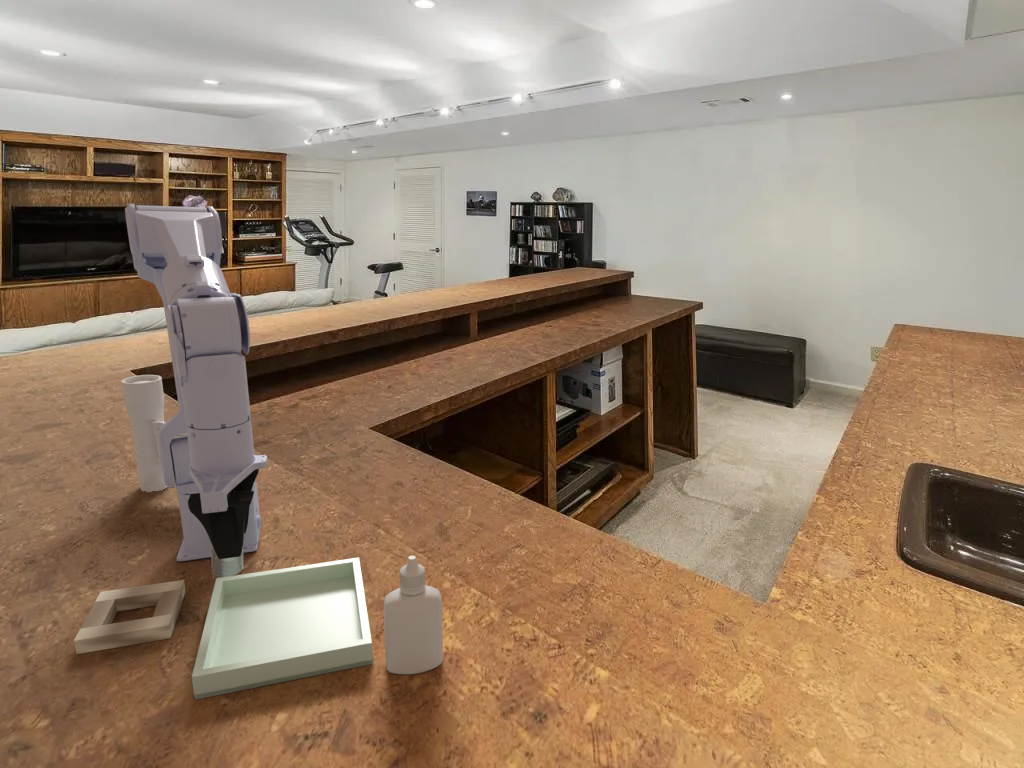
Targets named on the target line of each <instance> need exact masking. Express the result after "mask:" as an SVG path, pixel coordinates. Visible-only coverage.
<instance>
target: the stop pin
mask: <svg viewBox="0 0 1024 768" xmlns="http://www.w3.org/2000/svg"><path fill="white" fill-rule="evenodd" d="M232 490H235V493H238V492H247V491H249V490H248V489H246V488H244V487H241V486H236V487H234V488H233V489H232ZM210 558H211V559H210V560H211V573H212V574H213V575H214V576H215V577H218V578H222V577H229V576H236V575H237V574H238V575H239V573H240V572H242V570H244V553H243V548H242V553H241V556H240V557H233V558H226V559H218V557H217V555H216V553H215V551H214V548H213V546H212V544H211V557H210Z"/></svg>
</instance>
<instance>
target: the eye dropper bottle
mask: <svg viewBox="0 0 1024 768" xmlns="http://www.w3.org/2000/svg"><path fill="white" fill-rule="evenodd" d="M417 560H418V559H417V557H416V555H408V558H407V563H406V564H405V565H403V566H402V567H401V568H400V569H399V587H397V588H395V589H394V590H393V591H390V592H388V594H386V596H385V598H384V600H383V618H384V619H383V621H384V622H383V623H384V624H383V625H384V626H383V627H384V650H385V652H384V653H385V668H386V670H387V671H388V672H389V673H390V674H395V675H397V674H398V675H416V674H421V673H425V672H428V671H430V670H433V669H435V668H437V667H439V666H440V665H441V664H442V662H443V659H444V657H443V656H444V655H443V654H444V653H443V652H444V650H443V648H444V647H443V642H444V641H443V635H444V634H443V600H442V596H441V592H440V590H439V589H438V588H436V587H433V586H431V585H427V584H426V569H425V567H424V566H423V565H422V564H420V563H418V561H417Z"/></svg>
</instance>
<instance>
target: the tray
mask: <svg viewBox="0 0 1024 768" xmlns="http://www.w3.org/2000/svg"><path fill="white" fill-rule="evenodd" d="M367 608H368V607H367V601H366V595H365V588H364V582H363V576H362V569H361V561H360V557H353V558H351V557H350V558H346V559H338V560H333V561H326V562H319V563H312V564H304V565H298V566H292V567H291V566H290V567H286V568H285V567H284V568H279V569H270V570H264V571H257V572H251V573H244V574H238V575H237V574H235V575H233V576H228V577H217V578H215V583H214V586H213V590H212V594H211V598H210V603H209V606H208V609H207V615H206V618H205V623H204V627H203V631H202V635H201V637H200V638H201V639H200V643H199V646H198V651H197V653H196V654H197V655H196V658H195V661H194V662H195V663H194V667H193V670H192V674H191V682H192V688H193V689H192V690H193V695H194V700H195V701H196V700H201V699H207V698H210V697H214V696H215V697H216V696H220V695H224V694H230V693H231V694H232V693H235V692H239V691H244V690H245V691H246V690H249V689H255V688H260V687H266V686H269V685H274V684H279V683H285V682H289V681H294V680H300V679H303V678H309V677H314V676H319V675H324V674H329V673H334V672H335V673H336V672H339V671H344V670H349V669H353V668H359V667H364V666H369V665H373V664H374V661H373V642H372V635H371V628H370V621H369V615H368V614H369V613H368V609H367Z"/></svg>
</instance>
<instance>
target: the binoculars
mask: <svg viewBox="0 0 1024 768" xmlns="http://www.w3.org/2000/svg"><path fill="white" fill-rule="evenodd" d="M162 379H163V378H162V376H160V375H157V374H156V375H155V374H141V375H134V376H129V377H125V378H123V379H121V380H120V383H121V388H122V396H123V397H122V398H123V402H124V405H125V408H126V413H127V415H128V418H129V420H130V425H131V427H130V428H131V432H132V433H131V434H132V437H131V438H132V441H133V444H134V445H133V446H134V455H135V457H136V458H135V459H136V469H137V472H136V477H137V481H138V483H139V487H140V491H142V492H144V491H146V492H145V493H153V492H152V491H157V492H160V491H159V490H161V491H164V490H163V489H165V488H167V487H168V486H166V485H165V482H164V476H163V470H162V464H161V457H160V449H159V444H160V441H159V431H160V428H161V426H162V425H163V424H164V423H166V422H167V421H165V417H164V415H165V414H164V413H165V395H164V388H163V387H164V385H163V380H162ZM181 437H188V435H187V433H181V434H178V435H176V436H175V437H174V438H173V439H175V438H181ZM167 489H168V488H167ZM165 490H166V489H165Z"/></svg>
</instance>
